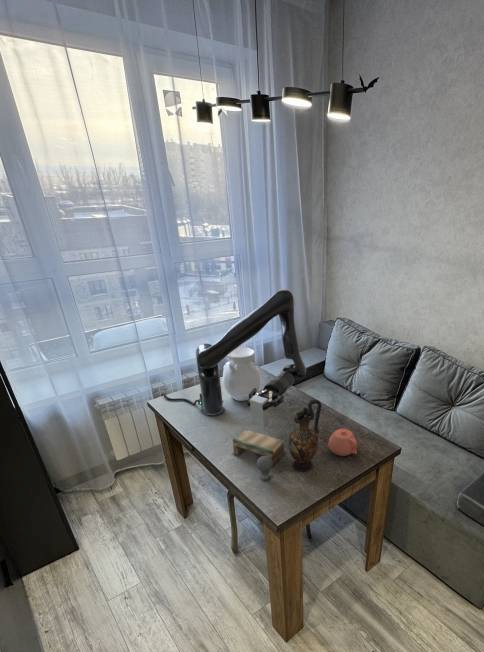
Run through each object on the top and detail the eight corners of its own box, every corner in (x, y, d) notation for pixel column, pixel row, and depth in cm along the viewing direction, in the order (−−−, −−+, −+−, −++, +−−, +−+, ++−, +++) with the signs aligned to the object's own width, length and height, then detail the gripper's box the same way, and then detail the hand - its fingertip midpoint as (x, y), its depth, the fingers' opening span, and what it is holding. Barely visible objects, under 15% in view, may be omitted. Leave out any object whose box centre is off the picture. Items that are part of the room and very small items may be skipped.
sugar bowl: (341, 438, 176) (343, 418, 171) (365, 452, 168) (367, 433, 163) (321, 449, 169) (322, 429, 164) (345, 465, 160) (347, 444, 155)
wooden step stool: (234, 454, 163) (232, 439, 160) (247, 441, 171) (246, 426, 168) (272, 466, 158) (271, 451, 154) (284, 452, 166) (284, 438, 162)
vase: (285, 458, 162) (285, 395, 147) (315, 454, 165) (317, 391, 150) (291, 477, 153) (291, 411, 137) (322, 472, 156) (325, 407, 141)
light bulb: (258, 472, 154) (256, 452, 149) (273, 472, 155) (273, 452, 150) (257, 483, 149) (255, 462, 144) (273, 483, 150) (272, 462, 144)
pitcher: (249, 408, 194) (246, 362, 181) (217, 401, 199) (212, 355, 186) (267, 392, 209) (266, 348, 196) (237, 385, 214) (233, 341, 202)
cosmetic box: (269, 424, 160) (268, 398, 154) (263, 429, 157) (262, 403, 151) (256, 420, 162) (255, 394, 156) (251, 425, 159) (249, 399, 153)
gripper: (261, 376, 166) (239, 393, 153) (292, 383, 162) (271, 402, 148) (262, 391, 170) (240, 410, 157) (292, 399, 165) (272, 419, 152)
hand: (255, 406), depth 152 cm, fingers closed on cosmetic box, 6 cm apart
